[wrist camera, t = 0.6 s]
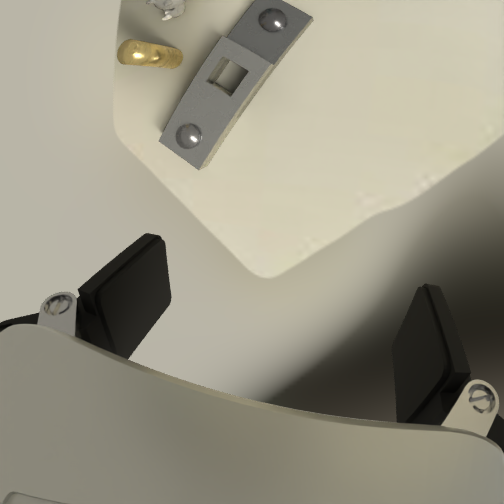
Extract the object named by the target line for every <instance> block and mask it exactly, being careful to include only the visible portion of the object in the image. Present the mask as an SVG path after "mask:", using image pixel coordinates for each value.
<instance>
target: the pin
mask: <svg viewBox="0 0 504 504" xmlns="http://www.w3.org/2000/svg"><path fill="white" fill-rule="evenodd" d="M117 57H118V60H119V62H120V63H122V64H127V65H141V66H152V67H162V68H170V69H173V68H176V67H178V66H179V65H180V64H181V62H182V60H183V54H182V52H181V51H180V50H178V49H175V48H171V47H167V46H162V45H158V44H153V43H148V42H143V41H138V40H132V39H129V40H126V41H124V42H123V43H122V44H121V45H120V47H119V49H118V52H117Z"/></svg>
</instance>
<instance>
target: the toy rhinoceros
mask: <svg viewBox="0 0 504 504" xmlns="http://www.w3.org/2000/svg"><path fill="white" fill-rule="evenodd" d="M184 2H185V0H149V1H147V2H146V4H152V3H154V4H155V5H156V7H157V8H159V9H162V10H164V12H165V14H166V15H165V17H164V18H162V20H168V19H170V18H172V17H177V16H180V15H181V14H182V13H183V12H184V10H185V5H184Z"/></svg>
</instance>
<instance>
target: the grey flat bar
mask: <svg viewBox="0 0 504 504" xmlns="http://www.w3.org/2000/svg"><path fill="white" fill-rule="evenodd" d="M312 22H313V17H311V16H309V15H308V14H306V13H304V12H302V11H301V10H299V9H297V8H295V7H293V6H292V5H290V4H288V3H286V2H284V1H282V0H255V1H254V3H253V4H252V5H251V6H250V8H249V9H248V10H247V11H246V13H245V14H244V15H243V17H242V18H241V19H240V20H239V22H238V23H237V24H236V26H235V27H234V28H233V30H232V31H231V32H230V34H229V35H228V37H227V38H226V37H224V36H222V37H221V38H220V40H219V41H218V43H217V44H216V46H215V47H214V48H213V50H212V51H211V53H210V54H209V56H208V57H207V59H206V60H205V62H204V63H203V65H202V67H201V68H200V70H199V71H198V73H197V74H196V76H195V78H194V79H193V81H192V82H191V84H190V86H189V87H188V89H187V91H186V92H185V94H184V96H183V97H182V99H181V101H180V103H179V104H178V106H177V108H176V110H175V111H174V113H173V115H172V117H171V119H170V120H169V122H168V124H167V126H166V128H165V130H164V132H163V134H162V136H161V137H160V139H159V142H161V143H162V144H163V145H165V146H166V147H168V148H169V149H170V150H172V151H173V152H174V153H176V154H177V155H179V156H180V157H181V158H183V159H184V160H186V161H187V162H188V163H190V164H191V165H192V166H194V167H195V168H196V169H198V170H200V169H202V168H204V167H206V166H208V164H209V163H210V161H211V160H212V158H213V156H214V155H215V153H216V152H217V150H218V149H219V147H220V146H221V144H222V142H223V141H224V139H225V138H226V136H227V135H228V133H229V132H230V130H231V129H232V127H233V126H234V125H235V123H236V122H237V120H238V119H239V117H240V116H241V114H242V113H243V111H244V110H245V109H246V107H247V106H248V104H249V103H250V101H251V100H252V99H253V97H254V96H255V94H256V93H257V92H258V90H259V89H260V88H261V86H262V85H263V84H264V82H265V81H266V79H267V78H268V77H269V75H270V74H271V73H272V71H273V70H274V69H275V68H276V66H277V65H278V64H279V62H280V61H281V60H282V58H283V57H284V56H285V55H286V53H287V52H288V51H289V50H290V48H291V47H292V46H293V45H294V43H295V42H296V41H297V40H298V38H299V37H300V36H301V35H302V34H303V32H304V31H305V30H306V29H307V28H308V26H309V25H310V24H311V23H312ZM230 60H231V61H233V62H234V63H236V64H238V65H239V66H241V67H243V68H244V69H246V70H248V71H249V72H248V73H247V75H246V76H245V77H244V79H243V80H242V82H241V83H240V85H239V86H238V87H237V89H236V90H235V92H234V93H233V94H232V93H231V92H229V91H228V90H226V89H224V88H223V87H221V86H220V85H218V84H216V83H215V82H216V80H217V79H218V77H219V76H220V74H221V73H222V71H223V70H224V68H225V67H226V65H227V64H228V62H229V61H230Z"/></svg>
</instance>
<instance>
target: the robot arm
mask: <svg viewBox="0 0 504 504" xmlns="http://www.w3.org/2000/svg"><path fill="white" fill-rule="evenodd" d="M78 292H79V295H80V296H79V297H78V298H76V297H75V295H74V294H72V293H70V292H59V293H56V294H53V295H51V296H49V297H48V298H47V299H46V300H45V301H44V302H43V303H42V305H41V308H40V313H36V314H31V315H27V316H23V317H18V318H14V319H10V320H6V321H3V322H1V323H0V504H504V419H502V418H501V417H500V416H499V415H498V414H497V411H498V408H499V398H498V395H497V393H496V391H495V390H494V388H493V387H492V386H491V385H490V384H488V383H486V382H485V381H481V380H473V381H471V378H470V373H471V371H470V368H469V364H468V361H467V358H466V355H465V352H464V349H463V346H462V343H461V340H460V337H459V334H458V331H457V329H456V326H455V323H454V320H453V318H452V315H451V313H450V310H449V308H448V305H447V303H446V300H445V298H444V295H443V293H442V291H441V288H440V287H439V286H436V285H430V284H424V285H423V286H422V287H418V289H417V291H416V293H415V296H414V298H413V300H412V303H411V305H410V307H409V310H408V312H407V314H406V316H405V319H404V321H403V323H402V325H401V328H400V330H399V332H398V334H397V336H396V338H395V340H394V342H393V345H392V356H393V367H394V379H395V393H396V414H397V423H393V422H382V421H371V420H363V419H353V418H345V417H338V416H331V415H324V414H318V413H312V412H306V411H300V410H295V409H291V408H285V407H281V406H276V405H271V404H267V403H263V402H258V401H254V400H250V399H246V398H242V397H238V396H234V395H231V394H227V393H224V392H220V391H217V390H213V389H210V388H206V387H203V386H200V385H197V384H193V383H190V382H187V381H184V380H181V379H178V378H176V377H173V376H170V375H167V374H164V373H161V372H159V371H156V370H153V369H150V368H148V367H145V366H142V365H140V364H138V363H135V362H133V361H130V360H128V359H129V357H130V356H131V355H132V353H133V351H135V349H136V348H137V346H138V345H139V344H140V343H141V341H142V340H143V339H144V337H145V336H146V335H147V333H148V332H149V331H150V330H151V328H152V327H153V326H154V324H155V323H156V321H157V320H158V319H159V318H160V316H161V315H162V314H163V313H164V311H165V310H166V308H167V307H168V306H169V305H170V302H171V290H170V282H169V274H168V265H167V256H166V246H165V242H164V240H162V238H161V237H160V236H159V235H154V234H149V233H146V234H144V235H143V236H141V237H140V238H139V239H138V240H136V241H135V242H134V243H133V244H131V245H130V246H129V247H127V248H126V249H125V250H124V251H123V252H122V253H120V254H119V255H118V256H116V257H115V258H114V259H113V260H112V261H110V262H109V263H108V264H107V265H105V266H104V267H103V268H102V269H101V270H99V271H98V272H97V273H96V274H95V275H94V276H92V277H91V278H90V279H89V280H88V281H87V282H85V283H84V284H83V285H82V286H81V287H80V288H79V289H78Z"/></svg>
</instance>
